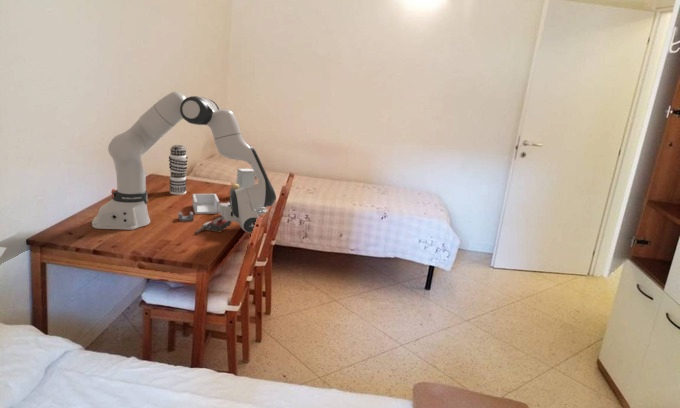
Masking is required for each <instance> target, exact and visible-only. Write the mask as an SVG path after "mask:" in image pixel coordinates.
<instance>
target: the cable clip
mask: <svg viewBox="0 0 680 408" xmlns="http://www.w3.org/2000/svg"><path fill="white" fill-rule="evenodd" d="M178 221H179V222H194V211H189V215H183V213H182V211H178Z"/></svg>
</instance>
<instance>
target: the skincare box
mask: <svg viewBox="0 0 680 408" xmlns="http://www.w3.org/2000/svg"><path fill="white" fill-rule="evenodd" d="M236 172H237V173H236V184H239V188H244V187H249V186H253V185H256V184H255V183H256V175H255V173H254V170H253V168H237V170H236Z"/></svg>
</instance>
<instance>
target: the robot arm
mask: <svg viewBox="0 0 680 408" xmlns="http://www.w3.org/2000/svg"><path fill="white" fill-rule="evenodd" d="M182 120H185V121H186V122H187V123H189V124H191V125H197V126H208V127H209V128H210V130H211V132H212V137H213V140H214V141H213V142H214V144H215V146H216V150H217V152H218V153H219V155H221V156H223V157H225V158H226V159H228V160H229V159H230V160H234V161H236V160H238V161H243V162H246V163H248V164H249V165H250V166H251V169H252V170H254V173H255V178H256V179H257V182H258V183H257V184H255V185H253V186H249V187H244V188H240V189H236V190H234V191H233V192H232V193H231V196H230V195H229V201H227V202H219V214H220V217H224V219H225V220H226V221H231V222H235V223H238V224H239V227H240V228H241V229H242V230H243V231H244V232H246V233H250V234H252V231H253V228H254V225H255V222H256V219H257V218H258V217H260V216H263V215H262V214H264V213H265V214H266V213H268V212H269V209H267V208H268V207H271V206H272V205H273V204H274V203H275V202H276V200H277V194H276V193H277V192H276V190H275V188H274V187H273V185H272V183H271V181H270V178H269V177H268V175H267V172H266V169H265V168H264V166H263V164H262V161H261V159H260V157H259V155H258V153H257V151H256V149H255V147H254V146H253V145H250V144H248V143H247V142H246V140H244V138H243V134H242V130H241V128H240V124H239V122H238V119H237V117H236V115H235V113H234V112H233V111H232V110H230V109H226V108H221V109H220V108H219V105H218V104H217V103H216V102H215V101H213V100H212V99H209V98H206V97H203V96H196V95H195V96H194V95H192V96H188V97H187V96H186V95H185V94H183V93H182V92H179V91H172V92H170V93H168V94H167V95H165V96H163V97H161V99H159V100H158V101H157V102H155V103H154V104H153V105H152V106H151V107H150V108H148V109H147V110H146V111H145V112H144V113H143V114H142V115H141V116H139V118H138V119H137V121H136V122H135V123H133V125H132V126H131V127H130V128H129V129H127V130H126V131H124V132H122V133H119V134H117V135H115V136H114V137H113V138H112V139H111V140H110V142H109V144H108V153H109V155H110V156H111V158H112V160H113V164H114V168H115V173H116V174H115V175H116V188H113V189H111V200H109V201H107V202H106V203H105V204H103V205H102V206H101V207H100V208H98V209H99V210H98V212H97V215H96V216H95V217H94V218H93V219H92V221H91V226H92V227H93V229H96V230H97V229H98V230H128V231H129V230H131V231H132V230H136V229H138V228H142V227H145V226H148V225H149V224H151V219H150V216H149V212H148V207H147V206H148V205H147V204H148V191H147V188H146V187H147V186H146V185H147V181H146V180H147V179H146V177H147V176H146V171H145V169H144V166H143V163H142V155H144V154H145V153H146V152H148V150H150V149H151V148H152V147H153V146H154V145H155V144H156V143H157V142H158V141H160V139H161V138H162V137H164V136H165V134H166V133H168V132H169V131H170V130H171V129H173V127H175V126H177V124H178V123H179V122H180V121H182ZM265 214H264V215H265Z"/></svg>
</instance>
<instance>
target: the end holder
mask: <svg viewBox="0 0 680 408" xmlns="http://www.w3.org/2000/svg"><path fill="white" fill-rule="evenodd" d="M219 204H220V199H219V197H218V195H217V193H192V209H193V213H194V215H210V214H212V215H213V214H215V215H216V214H220V213H219Z"/></svg>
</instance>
